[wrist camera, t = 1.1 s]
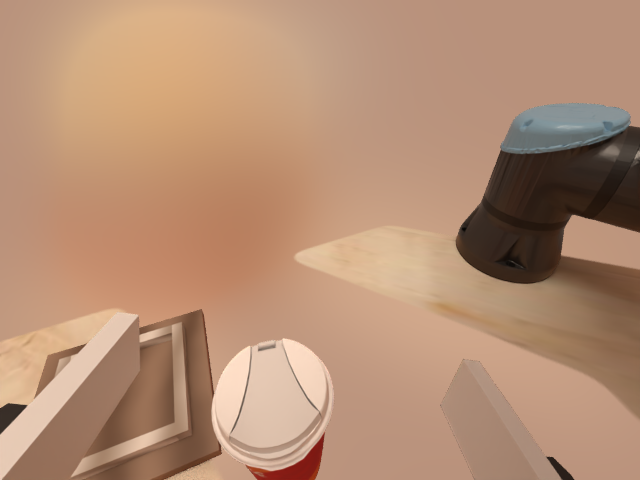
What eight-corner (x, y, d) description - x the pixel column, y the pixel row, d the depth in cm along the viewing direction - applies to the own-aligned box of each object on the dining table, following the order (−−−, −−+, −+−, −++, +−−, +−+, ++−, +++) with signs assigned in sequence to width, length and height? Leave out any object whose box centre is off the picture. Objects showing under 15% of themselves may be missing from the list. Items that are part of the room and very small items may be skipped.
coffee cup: (244, 424, 32) (209, 344, 22) (320, 405, 33) (318, 321, 24) (248, 532, 26) (202, 483, 16) (343, 502, 27) (351, 440, 17)
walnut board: (203, 314, 43) (199, 303, 41) (221, 454, 30) (215, 445, 28) (53, 360, 38) (41, 349, 36) (-4, 552, 25) (-27, 548, 23)
